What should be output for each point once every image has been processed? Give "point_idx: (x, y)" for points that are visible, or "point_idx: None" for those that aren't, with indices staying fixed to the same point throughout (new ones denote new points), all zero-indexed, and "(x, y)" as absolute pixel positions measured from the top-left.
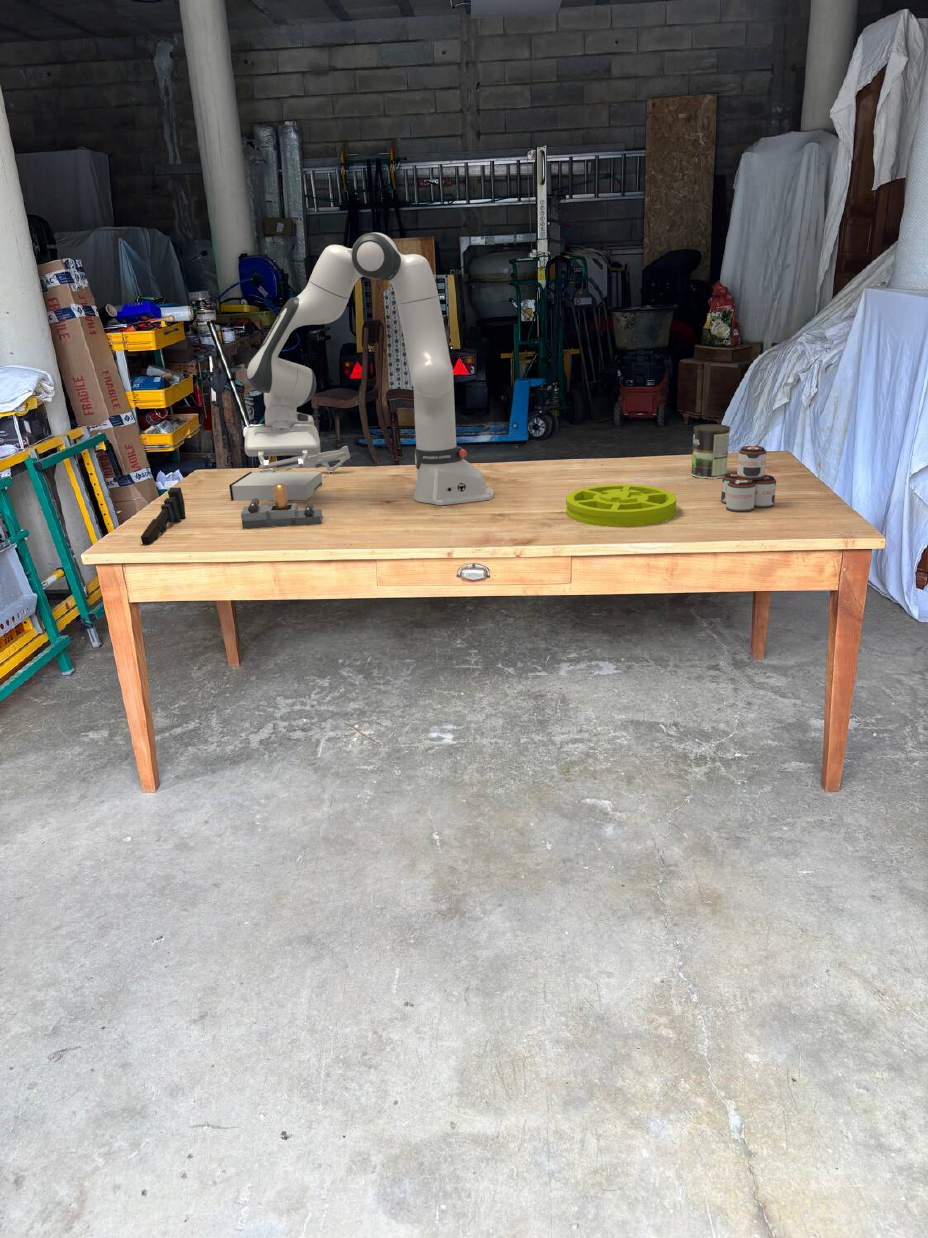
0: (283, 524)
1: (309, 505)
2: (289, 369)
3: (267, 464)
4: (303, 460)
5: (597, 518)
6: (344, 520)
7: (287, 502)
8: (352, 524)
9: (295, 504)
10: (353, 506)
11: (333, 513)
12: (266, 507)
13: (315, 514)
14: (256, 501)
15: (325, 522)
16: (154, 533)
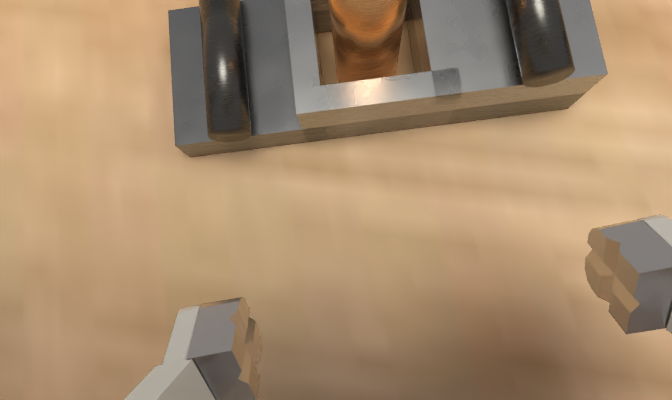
0: None
1: (214, 57)
2: None
3: (610, 229)
4: (173, 338)
5: None
6: (80, 75)
7: (330, 16)
8: (43, 10)
9: (299, 85)
10: (42, 337)
11: (140, 206)
12: (460, 38)
13: (195, 43)
14: (526, 8)
15: (165, 52)
16: None
